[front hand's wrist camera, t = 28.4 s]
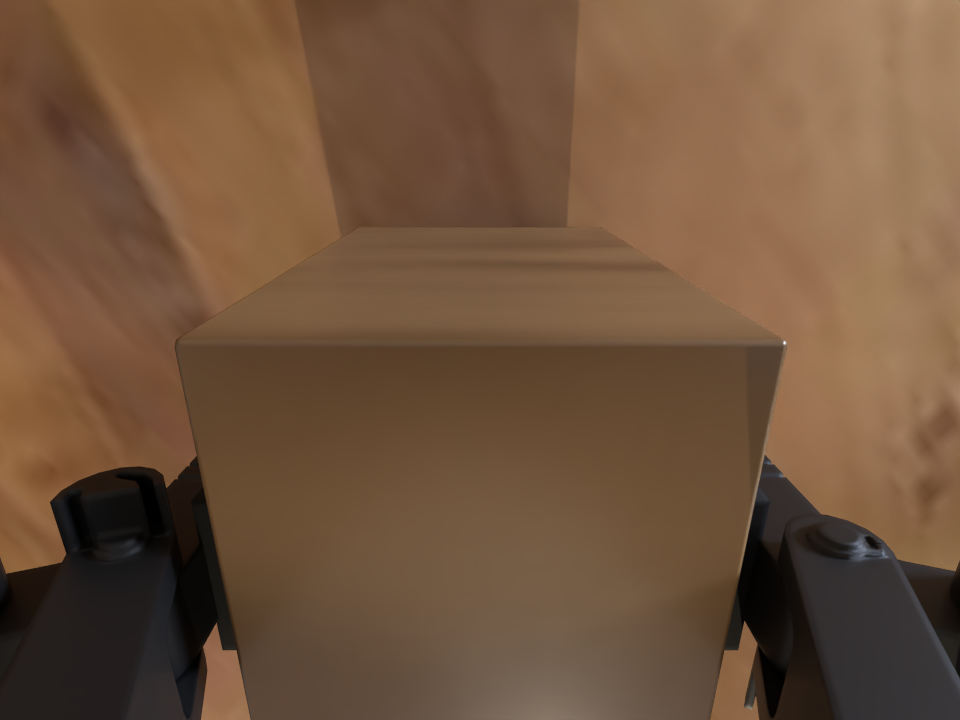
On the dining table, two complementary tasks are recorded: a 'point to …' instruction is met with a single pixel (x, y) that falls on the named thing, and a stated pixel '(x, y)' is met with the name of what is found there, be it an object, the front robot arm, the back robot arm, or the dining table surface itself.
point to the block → (480, 477)
